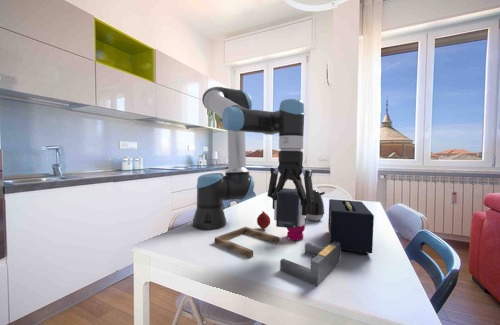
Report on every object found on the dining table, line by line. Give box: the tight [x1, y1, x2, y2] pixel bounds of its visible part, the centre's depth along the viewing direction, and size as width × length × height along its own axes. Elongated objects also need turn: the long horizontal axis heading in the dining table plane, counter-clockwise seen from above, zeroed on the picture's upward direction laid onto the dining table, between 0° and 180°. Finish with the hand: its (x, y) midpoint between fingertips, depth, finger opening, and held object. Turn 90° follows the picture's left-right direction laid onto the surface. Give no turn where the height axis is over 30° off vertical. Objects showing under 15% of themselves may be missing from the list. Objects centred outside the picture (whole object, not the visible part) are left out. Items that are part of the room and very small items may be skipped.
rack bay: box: [279, 241, 341, 287], centre depth 64 cm, size 11×17×6 cm, turn 140°
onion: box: [256, 210, 271, 230], centre depth 96 cm, size 6×6×8 cm
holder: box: [214, 226, 280, 259], centre depth 81 cm, size 17×17×2 cm
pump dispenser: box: [305, 189, 326, 222], centre depth 112 cm, size 10×10×15 cm
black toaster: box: [327, 198, 375, 255], centre depth 83 cm, size 22×13×15 cm, turn 162°
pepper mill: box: [286, 187, 306, 241], centre depth 87 cm, size 7×7×20 cm
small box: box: [275, 187, 301, 229], centre depth 69 cm, size 11×6×10 cm, turn 162°
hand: (288, 222), depth 69 cm, fingers closed on small box, 8 cm apart
